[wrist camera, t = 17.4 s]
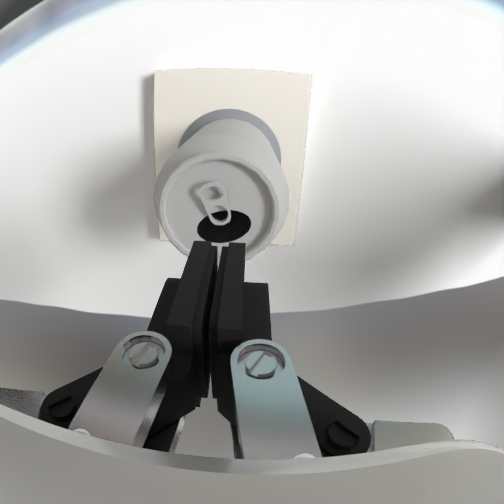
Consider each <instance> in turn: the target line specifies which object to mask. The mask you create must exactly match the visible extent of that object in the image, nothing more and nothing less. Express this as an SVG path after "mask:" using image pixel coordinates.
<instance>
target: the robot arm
mask: <svg viewBox="0 0 504 504" xmlns="http://www.w3.org/2000/svg"><path fill="white" fill-rule="evenodd" d="M245 248H246V243H237V242H229V246H222V250H221V256H220V262H219V267H218V248H217V246H212V244H211V241H194V242H193V245H192V248H191V251H190V254H189V256H188V259H187V262H186V265H185V268H184V271H183V274H182V277H181V279H179V278H168V279H167V280H166V282H165V285H164V287H163V290H162V292H161V295H160V297H159V300H158V303H157V305H156V308H155V311H154V313H153V316H152V319H151V321H150V324H149V327H148V330H147V331H140V332H135V333H132V334H130V335H128V336H126V337H125V338H123V339H122V340H121V341H120V342H119V343H118V345H117V346H116V348H115V349H114V351H113V353H112V354H111V356H110V358H109V359H108V361H107V363H106V364H105V366H104V367H102V368H100V369H98V370H96V371H94V372H92V373H90V374H88V375H86V376H84V377H81V378H79V379H77V380H75V381H73V382H72V383H69V384H67V385H65V386H63V387H60V388H58V389H56V390H54V391H53V392H51V393H50V394H48V395H45V394H44V392H41V391H29V390H18V389H9V388H0V504H504V449H502V448H500V447H498V446H497V445H494V444H491V443H486V442H481V441H474V440H454V437H453V434H452V433H451V432H450V430H449V429H448V428H447V427H445V426H443V425H442V424H437V423H414V422H392V421H379V420H375V421H374V423H365V422H364V421H363V420H361V419H360V418H359V417H358V416H356V415H355V414H353V413H352V412H350V411H349V410H347V409H346V408H344V407H342V406H341V405H339V404H338V403H336V402H335V401H333V400H332V399H330V398H329V397H327V396H326V395H324V394H323V393H321V392H320V391H318V390H317V389H316V388H314V387H313V386H311V385H309V384H308V383H307V382H305V381H304V380H303V379H301V378H300V377H298V376H297V374H296V371H295V368H294V365H293V362H292V359H291V357H290V355H289V353H288V351H287V350H286V349H285V348H284V347H283V346H281V345H280V344H278V343H276V342H273V341H272V338H271V323H270V306H269V291H268V283H251V282H244V270H245ZM210 374H211V381H212V394H213V398H215V399H217V403H218V404H217V405H218V411H219V412H220V413H221V414H222V415H223V416H224V417H225V418H226V419H227V420H228V421H229V422H230V429H231V437H232V444H233V452H234V459H227V458H212V457H202V456H192V455H183V454H175V453H174V452H175V449H176V446H177V443H178V440H179V437H180V435H181V431H182V429H183V426H184V423H185V417H186V416H185V415H186V414H188V413H189V412H191V411H193V410H194V409H195V407H200V401H201V397H202V398H207V397H208V390H209V382H210Z"/></svg>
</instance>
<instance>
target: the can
mask: <svg viewBox="0 0 504 504" xmlns="http://www.w3.org/2000/svg"><path fill="white" fill-rule="evenodd" d="M154 203H155V208H156V214H157V218H158V220H159V222H160V223H161V226H162V228H163V230H164V232H165V234H166V236H167V237H168V239H169V241H170V242H171V243H172V244H173V245H174V246H175V247H176V248H177V249H178V250H179V251H180V252H181V253H183V254H184V255H186V256H189V254H190V251H191V248H192V245H193V242H194V241H211V244H212V246H217V248H218V265H219V262H220V256H221V250H222V246H229V242H237V243H246V248H245V261H246V260H249V259H251V258H252V257H254V256H255V255H256V254H258V253H259V252H261V251H262V250H264V249H265V247H266V246H267V245H269V244H270V243H271V242H272V241H273V240H274V238H275V237H276V236H277V234H278V233H279V232H280V230H281V229H282V228H283V225H284V222H285V219H286V217H287V214H288V211H289V187H288V184H287V182H286V179H285V176H284V173H283V170H282V168H281V166H280V164H279V161H278V159H277V157H276V155H275V153H274V151H273V148H272V146H271V144H270V142H269V140H268V139H267V138H266V137H265V135H264V134H263V133H262V132H261V130H259V129H258V128H256V127H255V126H253V125H252V124H250V123H248V122H245V121H241V120H237V119H220V120H216V121H214V122H211V123H209V124H207V125H205V126H203V127H202V128H201V129H200V130H199V131H198V132H196V133H195V134H194V135H193V136H192V137H191V138H190V139H188V140H187V141H186V142H185V143H184V144H183V145H182V146H181V147H180V148H179V149H177V150H176V151H175V152H174V153H173V154H172V155H171V156H170V157H169V158H168V159H167V160H166V162H165V164H164V165H163V167H162V169H161V171H160V173H159V175H158V177H157V180H156V186H155V192H154Z"/></svg>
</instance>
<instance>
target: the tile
mask: <svg viewBox="0 0 504 504" xmlns="http://www.w3.org/2000/svg"><path fill="white" fill-rule="evenodd" d="M311 82H312V75H309V74H301V73H292V72H282V71H270V70H255V69H229V68H198V69H172V70H157V71H155V74H154V150H155V176H156V180H157V177H158V175H159V173H160V171H161V169H162V167H163V165H164V164H165V162H166V160H167V159H168V158H169V157H170V156H171V155H172V154H173V153H174V152H175V151H176V150H177V149H179V148H180V147H181V146H182V145H183V144H184V143H185V142H186V141H187V140H188V139H190V138H191V137H192V136H193V135H194V134H195V133H196V132H198V131H199V130H200V129H201V128H202V127H203V126H205V125H207V124H209V123H211V122H214V121H216V120H220V119H237V120H241V121H245V122H248V123H250V124H252V125H253V126H255V127H256V128H258V129H259V130H261V132H262V133H263V134H264V135H265V137H266V138H267V139H268V140H269V142H270V144H271V146H272V148H273V151H274V153H275V155H276V157H277V159H278V161H279V164H280V166H281V168H282V170H283V173H284V176H285V179H286V182H287V184H288V187H289V211H288V214H287V217H286V219H285V222H284V225H283V228H282V229H281V230H280V232H279V233H278V234H277V236H276V237H275V238H274V240H273V241H272V242H271V243H270V244H273V245H294V241H295V233H296V225H297V218H298V210H299V201H300V193H301V184H302V176H303V167H304V157H305V148H306V138H307V128H308V117H309V106H310V94H311ZM158 222H159V220H158ZM159 234H160V240H163V241H169V239H168V237H167V236H166V234H165V232H164V230H163V228H162V226H161V223H160V222H159Z"/></svg>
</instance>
